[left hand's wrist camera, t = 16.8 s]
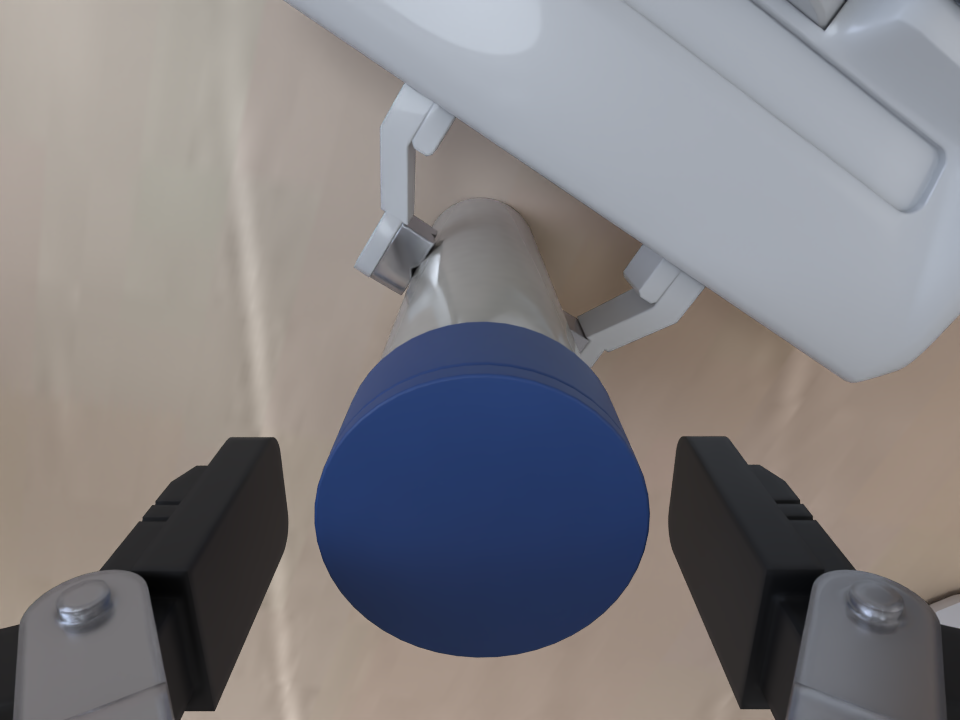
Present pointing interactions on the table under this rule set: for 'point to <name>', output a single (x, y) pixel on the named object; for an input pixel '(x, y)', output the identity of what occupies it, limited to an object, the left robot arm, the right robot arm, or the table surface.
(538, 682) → the table surface
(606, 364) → the table surface
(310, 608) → the table surface
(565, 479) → the lid
